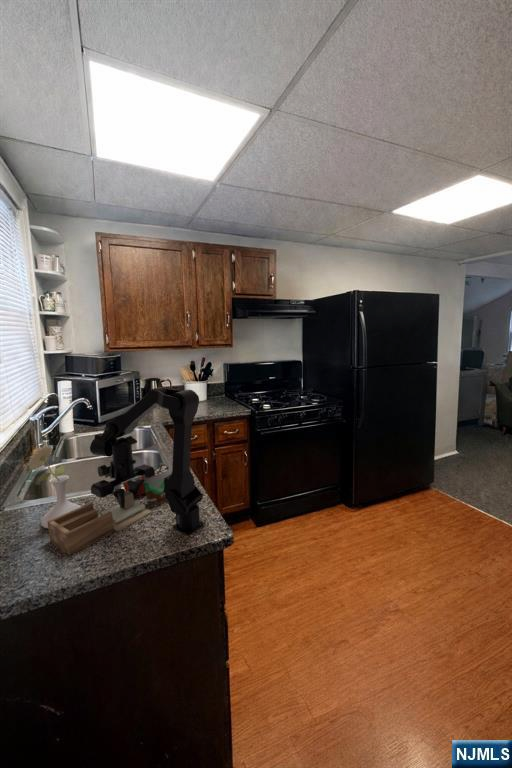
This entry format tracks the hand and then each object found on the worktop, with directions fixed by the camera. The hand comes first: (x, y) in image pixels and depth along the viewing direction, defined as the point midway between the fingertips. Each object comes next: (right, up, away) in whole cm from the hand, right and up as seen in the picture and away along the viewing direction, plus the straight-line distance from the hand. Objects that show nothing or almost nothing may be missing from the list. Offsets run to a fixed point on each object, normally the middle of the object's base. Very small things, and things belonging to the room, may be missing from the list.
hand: (127, 505), depth 99 cm
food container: (+8, -1, +10) cm, 13 cm away
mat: (-1, -3, -1) cm, 3 cm away
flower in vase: (-18, -4, -4) cm, 19 cm away
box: (-8, -4, -11) cm, 14 cm away
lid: (-1, -2, -1) cm, 2 cm away
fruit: (-2, -1, +15) cm, 15 cm away
